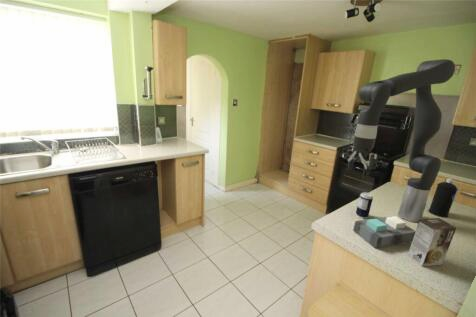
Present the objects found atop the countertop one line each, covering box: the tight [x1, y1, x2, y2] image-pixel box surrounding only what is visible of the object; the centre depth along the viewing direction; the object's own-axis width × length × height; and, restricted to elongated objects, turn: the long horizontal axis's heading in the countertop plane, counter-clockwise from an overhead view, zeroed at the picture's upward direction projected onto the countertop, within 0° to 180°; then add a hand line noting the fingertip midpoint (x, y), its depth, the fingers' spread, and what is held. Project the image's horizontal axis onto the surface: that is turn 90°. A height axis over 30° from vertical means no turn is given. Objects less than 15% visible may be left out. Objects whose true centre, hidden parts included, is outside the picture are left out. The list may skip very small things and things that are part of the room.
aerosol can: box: [427, 178, 459, 218], centre depth 118 cm, size 8×8×20 cm
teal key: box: [366, 218, 387, 232], centre depth 96 cm, size 5×5×4 cm
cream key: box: [385, 215, 407, 229], centre depth 98 cm, size 5×5×4 cm
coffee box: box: [407, 217, 457, 267], centre depth 83 cm, size 9×6×16 cm
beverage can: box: [355, 191, 374, 219], centre depth 113 cm, size 6×6×12 cm
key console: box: [352, 216, 416, 249], centre depth 98 cm, size 21×12×5 cm, turn 106°
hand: (357, 173), depth 95 cm, fingers open, 8 cm apart
